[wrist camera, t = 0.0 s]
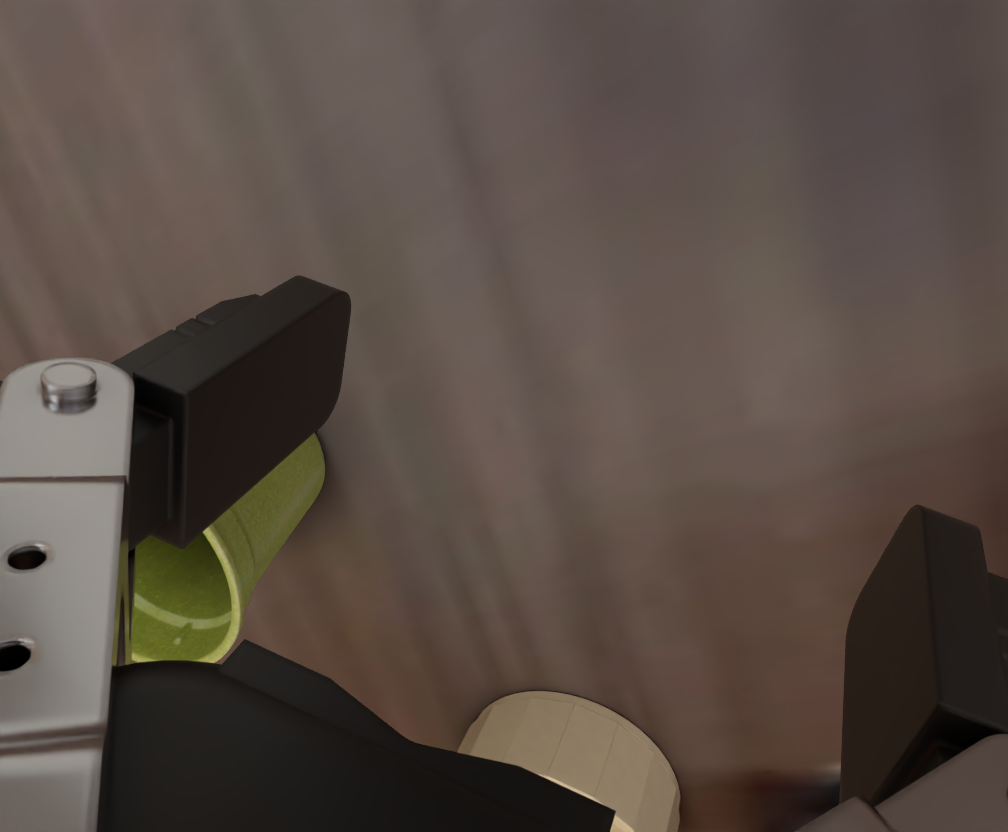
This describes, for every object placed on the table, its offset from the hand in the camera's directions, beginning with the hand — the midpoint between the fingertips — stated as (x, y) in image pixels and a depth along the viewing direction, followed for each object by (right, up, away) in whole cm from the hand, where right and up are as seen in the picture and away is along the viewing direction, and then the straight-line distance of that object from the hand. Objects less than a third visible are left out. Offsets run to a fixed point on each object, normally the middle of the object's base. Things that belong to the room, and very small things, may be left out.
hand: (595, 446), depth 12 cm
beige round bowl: (+2, -16, +29) cm, 33 cm away
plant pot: (-11, -1, +26) cm, 29 cm away
